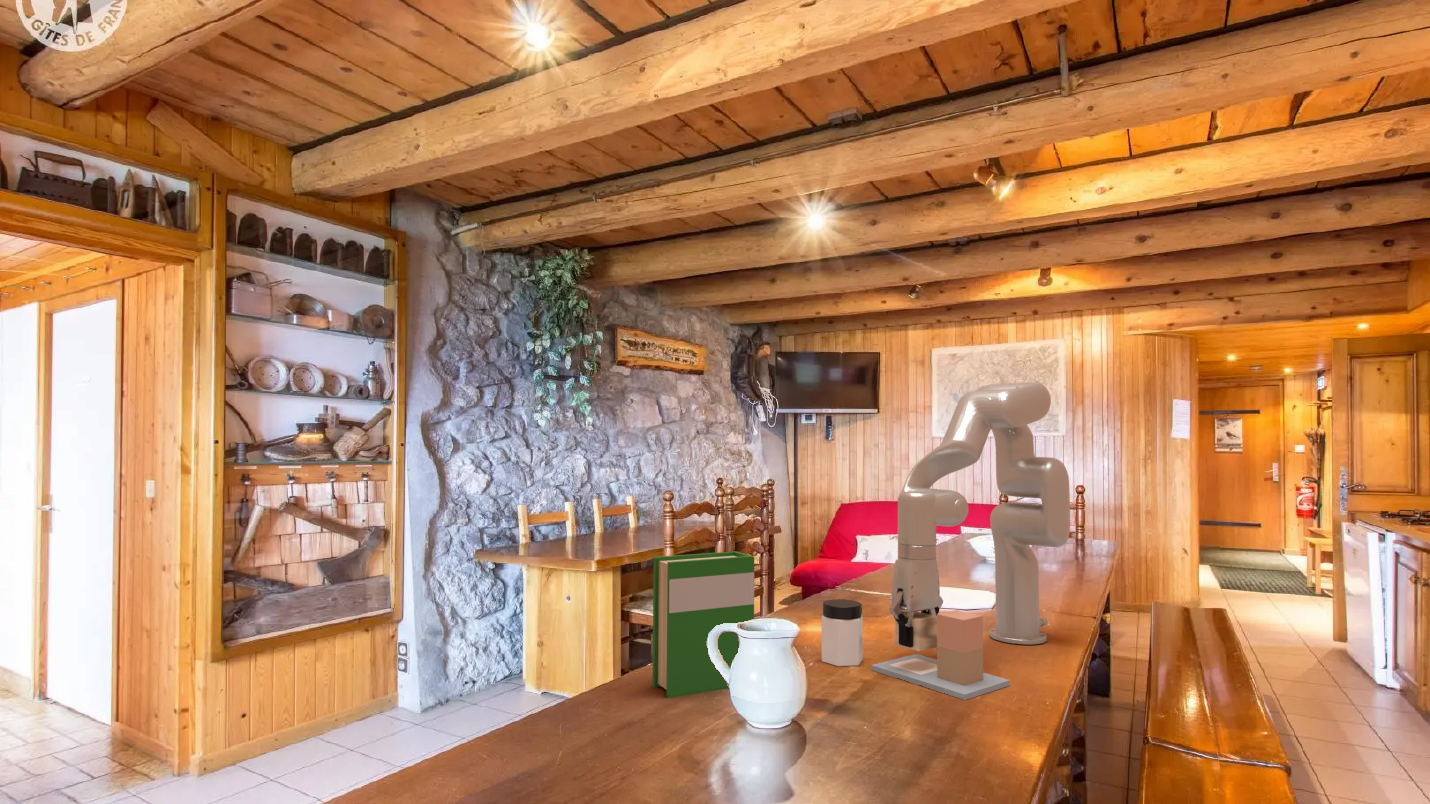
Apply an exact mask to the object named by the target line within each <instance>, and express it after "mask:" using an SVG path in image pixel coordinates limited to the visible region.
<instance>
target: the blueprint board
mask: <svg viewBox="0 0 1430 804" xmlns="http://www.w3.org/2000/svg"><path fill="white" fill-rule="evenodd" d="M870 668H871V671H873V672H877V673H879V674H882V675H885V676H888V677H892V678H894V679H897V678H900V679H902V680H901V681H904V680H905V682H907V681H908V682H907V683H910V684H914V685H916V686H919V685H922V686H924V687H923V688H925V687H927V688H926V689H928V688H930V689H929V690H932V689H933V690H932V691H934V692H939V693H940V694H944V693H945V694H944V695H947V694H948V695H947V696H950V697H953V698H956V699H960V700H962V701H966V700H969V699H974V698H977V697H978V696H981V695H985V694H988V693H991V692H994V691H998V690H1000V689H1003V688H1006V687H1010V686H1011V680H1010V679H1007V678H1003V677H999V676H996V675H992V674H990V673H985V672H984V647H983V648H981V649H977V650H973V651H970V652H966V653H962V652H958V651H955V650H951V649H947V648H943V647H939V646H937V647H936V658H932V657H928V656H925V655H922V654H920V653H914V654H911V655H907V656H906V655H905V656H902V657H898V658H895V659H890V660H886V661H882V662H878V663H874V664H871V665H870ZM900 679H899V680H900ZM922 686H921V687H922Z"/></svg>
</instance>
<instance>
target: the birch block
mask: <svg viewBox="0 0 1430 804" xmlns="http://www.w3.org/2000/svg"><path fill="white" fill-rule="evenodd" d="M907 614H908V613H904V616H905V617H906V618H907ZM911 627H913V647H911V648H910V647H906V646H903V645H900V644H899V625H898V624H897V623H896V620H895V619H894V635H895V636H894V640H895V641H894V645H895V646H897V647H902V648H905V649H909V650H913V651H917V652H922V651H926V650H927V651H928V650H932V649H935V648H936V649H937V616H934V615H930V614H925V613H921V611H918V612H914V615H913V619H912V623H911Z"/></svg>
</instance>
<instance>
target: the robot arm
mask: <svg viewBox="0 0 1430 804" xmlns="http://www.w3.org/2000/svg"><path fill="white" fill-rule="evenodd" d="M1051 403H1052V401H1051V393H1050V391H1049V390H1048V388H1047V387H1046V386H1045V385H1043V384H1042V383H1040V382H1035V381H1034V382H1014V383H1011V382H1009V383H1008V382H1007V383H995V384H993V383H992V384H987V385H984V386H983V385H982V386H980V387H978V388H977V389H976V390H971V391H969V392H966V393H964V394H963V395H962V396H961V397H960V398H959V400H958V402H957V405H956V407H955V409H954V412H953V414H952V417H951V419H950V421H949V424H948V427H947V429H946V431H945V434H944V437H943V439H942V441H941V443H940V444H939V445H938V446H937V447H936V448H934V449H932V450H931V451H929V452H928V453H927V454H926V455H925V456H924V457H923V458H921V459H920V460H919V461H918V462H917V463H916V464H915V465H914V466H913V467H912V469H910V471H909V473H908V475H907V477H906V480H905V482H904V484H903V486H902V490H901V492H900V493H899V495H898V497H897V559H895V562H894V567H893V571H892V581H891V582H892V583H891V592H890V593H891V598H890V599H891V601H890V602H891V604H890V606H889V608H888V611H889V612H890V614H891V615H892V616H893V618H894V621H895V620H896V623H897V624H898V625H899V644H900V645H903V646H906V647H910V648H911V647H913V627H911V623H912V619H913V615H914V612H921V613H925V614H930V615H934V616H937V614H940V609H941V607H942V605H943V604H944V600H943V598H942V596H941V593H940V588H941V587H940V578H939V577H940V575H939V567H938V562H937V526H939V527H940V526H941V527H948V528H949V527H950V528H951V527H955V526H959V525H960V524H962V523H963V522H965V520H966V518H967V517H968V514H969V503H968V501H967V499H966V498H965V496H964V495H963V494H962V493H960V492H958V491H955V490H952V489H938V488H932V487H933V485H934V484H935V483H936V482H937V481H939V480H940V479H942V478H944V477H945V476H948V475H950V474H952V473H955V472H958V471H961V470H963V469H965V468H968V467H970V466H973V465H975V464H976V463H977V462H978V461H979V460H980V459H981V456H982V453H983V450H984V447H985V444H986V441H987V440H988V437H989V435H990V432H991V431H992V434H993V437H994V441H995V442H994V444H995V445H994V446H995V476H996V486H997V490H998V491H999V492H1000V493H1001V494H1003V495H1005V496H1009V497H1015V498H1016V497H1017V498H1029V499H1030V498H1031V499H1040V501H1041V504H1040V503H1039V504H1038V503H1030V502H1029V503H1028V502H1011V501H1010V502H1002V503H999V504H998V505H996V506H995V507H993V509H992V510H991V513H990V517H989V518H990V519H989V521H990V522H989V523H990V529H991V535H992V540H993V547H994V565H995V566H994V569H995V574H994V575H995V577H994V579H995V583H994V585H995V627H992V628H990V630H989V631H988V635H989V637H990V638H991V639H993V640H996V641H999V642H1003V643H1007V644H1012V645H1013V644H1014V645H1015V644H1018V645H1029V646H1030V645H1040V644H1044V643H1046V642H1047V641H1048V638H1047V636H1048V635H1047V634H1046V633H1044V632H1042V631H1041V627H1045V626H1047V625H1048V623H1049V622H1048V619H1047V618H1046V617H1044V616H1043V617H1040V592H1039V591H1040V590H1039V589H1040V588H1039V587H1040V585H1039V584H1040V583H1039V582H1040V581H1039V580H1040V579H1039V576H1040V575H1039V572H1040V571H1039V570H1040V569H1039V568H1040V567H1039V562H1038V559H1037V556H1036V554H1035V553H1034V551H1033V550H1032V548H1031V546H1035V547H1036V546H1037V547H1047V548H1060V547H1062V546H1064V545H1065V544H1066V543H1067V542H1068V540H1069V537H1070V534H1071V533H1070V532H1071V503H1070V500H1071V499H1070V479H1069V478H1070V477H1069V473H1068V469H1067V467H1066V466H1065V464H1064V463H1063V461H1061V460H1059V459H1057V458H1054V457H1046V456H1045V457H1044V456H1035V448H1034V446H1035V445H1034V436H1033V433H1032V430H1031V428H1030V427H1029V425H1030V424H1032V423H1035V422H1039V421H1041V420H1042V419H1043V418H1045V417H1046V415H1048V412H1049V411H1050V408H1051ZM904 613H908V614H907V618H906V617H905V616H904Z"/></svg>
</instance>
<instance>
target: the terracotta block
mask: <svg viewBox="0 0 1430 804" xmlns="http://www.w3.org/2000/svg"><path fill="white" fill-rule="evenodd" d="M937 646H939V647H943V648H947V649H951V650H955V651H958V652H962V653H966V652H970V651H973V650H977V649H981V648H983V649H984V615H981V614H975V613H971V612H965V611H962V610H956V609H955V610H951V611H947V612H941V613H940V612H939V613H938V614H937Z"/></svg>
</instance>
